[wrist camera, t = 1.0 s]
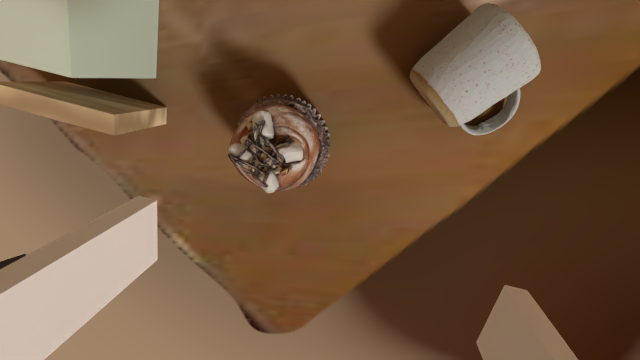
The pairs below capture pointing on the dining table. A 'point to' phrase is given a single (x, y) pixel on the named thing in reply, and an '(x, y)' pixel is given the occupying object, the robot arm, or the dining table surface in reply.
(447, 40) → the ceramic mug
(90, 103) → the board
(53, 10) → the socket block
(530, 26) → the dining table surface
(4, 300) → the robot arm
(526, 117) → the dining table surface
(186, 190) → the dining table surface
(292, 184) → the cupcake
